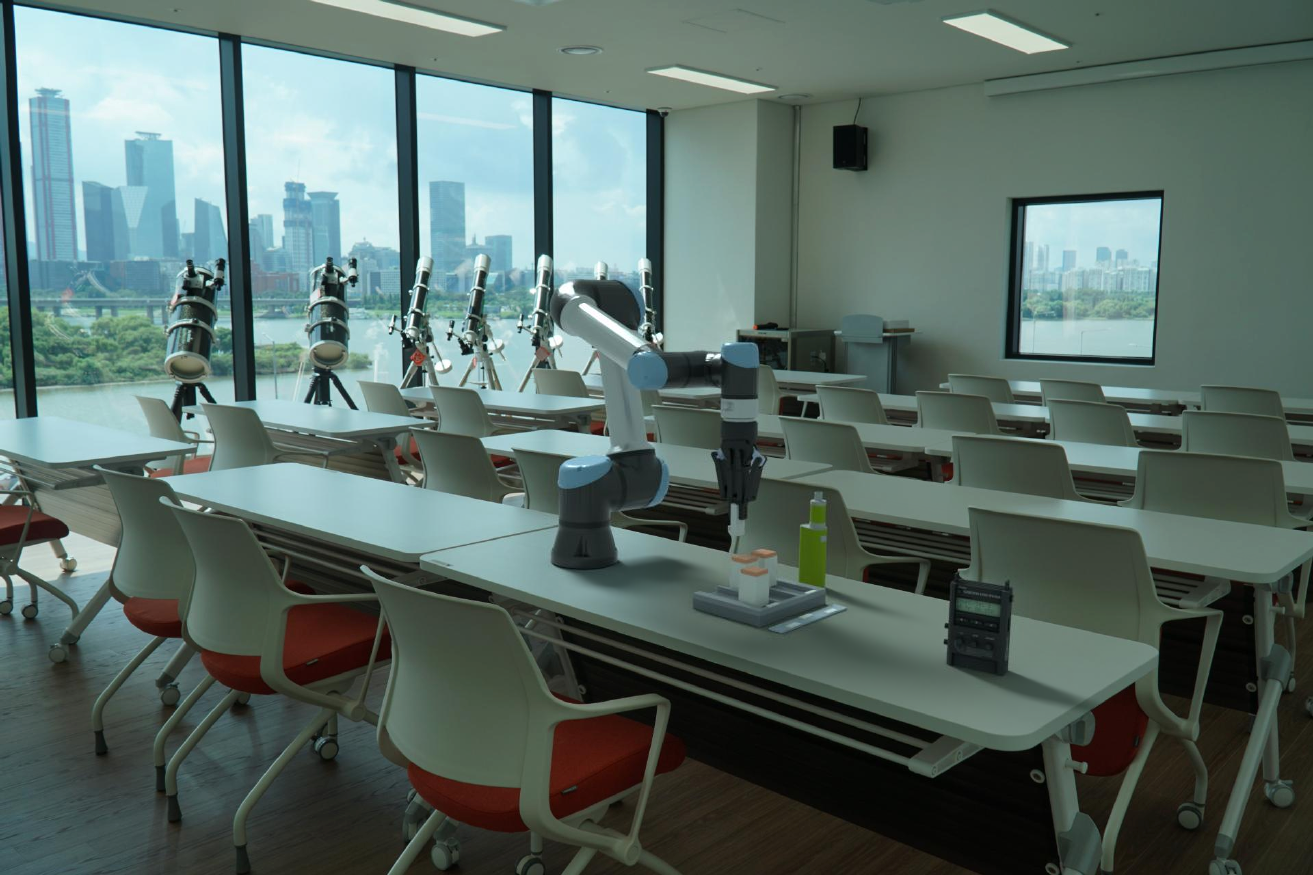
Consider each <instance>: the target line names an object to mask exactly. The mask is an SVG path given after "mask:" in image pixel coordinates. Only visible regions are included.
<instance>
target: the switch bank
mask: <svg viewBox="0 0 1313 875" xmlns="http://www.w3.org/2000/svg"><path fill="white" fill-rule="evenodd" d="M826 591H827V589H826V587H825V588H821V587H817V586H813V585H808V584H804V583H800V582H798V581H796V580H795V581H794V580H791V579H787V578H782V577H778V576H777V585H775V586H772V587H769V605H766V606H763V607H758V606H754V605H751V604H747V603H743V602H739V590H737V589H733V588H730V586H724V585H722V584H719V585H716V590H715V591H712V592H709V593H708V592H705V591H701V590H699V591H695V592H693V593H692V594H693V596H692V609H693V610H694V609H695V610H697V611H700V612H704V613H708V614H711V615H716V616H719V617H722V618H727V619H729V620H733V621H737V622H740V623H744V624H746V625H751V626H754V627H757V628H761V627H764V626H767V625H769V624H773V623H775V622H778V621H781V620H784V619H786V618H789V617H792V616H795V615H797V614H800V613H802V612H805V611H808V610H811V609H814V608H817V607H819V606H822V605H825V604H826V597H827V596H826V593H827V592H826Z"/></svg>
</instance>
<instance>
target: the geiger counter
mask: <svg viewBox="0 0 1313 875" xmlns="http://www.w3.org/2000/svg"><path fill="white" fill-rule="evenodd" d="M1010 583H1011V581H1010V579H1007V580H1005V581H1004V585H1001V584H996V583H989V582H983V581H977V580H970V579H964V578H960V571H957V572H955V573H954V579H953V580H951V581H950V583H949V584H950V586H949V587H950V590H949V605H948V606H949V607H948V622H945V623H944V629H947V638H944V639H943V645H944V646H945V645H946V647H947V648H946V662H945V664H946V665H947V666H955V667H959V668H960V667H961V668H965V669H970V670H974V671H978V672H984V673H988V674H994V675H996V676H999V677H1004V675H1006V673H1007V672H1008V671H1009V660H1010V657H1009V656H1010V642H1011V641H1010V639H1011V627H1012V626H1011V625H1012V612H1013V611H1012V610H1013V608H1012V607H1013V602H1014V601H1015V595H1014V590H1013V589H1014V588H1013V587H1012V586H1010Z"/></svg>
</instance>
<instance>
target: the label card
mask: <svg viewBox="0 0 1313 875" xmlns="http://www.w3.org/2000/svg"><path fill="white" fill-rule="evenodd" d="M845 610H848V607H846V606H843V605H838V604H834V603H833V604H831V605H829V606H826V607H825V606H824V607H822V608H820V609H818V610H815V611H812V612H808V613H806V614H803V615H800V616H798V617H795V618H792V619H789V620H787V621H784V622H782V623H779V624H776V625H773V626H770V627H768V631H771V632H776V633H779V634H786V633H788V632H790V631H793V630H796V629H798V628H801V627H804V626H805V625H809V624H811V623H814V622H817V621H819V620H822V619H824V618H828V617H830V616H833V615H835V614H838V613H840V612H843V611H845Z"/></svg>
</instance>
